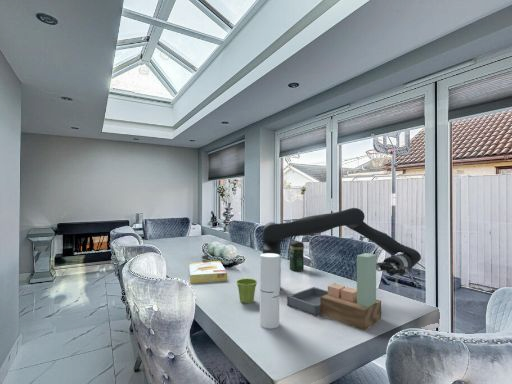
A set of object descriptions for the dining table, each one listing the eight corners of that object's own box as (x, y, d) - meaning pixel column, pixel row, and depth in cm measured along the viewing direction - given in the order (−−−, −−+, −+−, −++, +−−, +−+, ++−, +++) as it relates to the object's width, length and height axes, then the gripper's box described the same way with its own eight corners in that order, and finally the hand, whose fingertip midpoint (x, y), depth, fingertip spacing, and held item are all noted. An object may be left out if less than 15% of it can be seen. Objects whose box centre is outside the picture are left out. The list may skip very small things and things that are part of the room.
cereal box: (220, 260, 182) (227, 271, 155) (220, 268, 182) (227, 281, 155) (188, 262, 176) (190, 274, 149) (188, 271, 176) (190, 284, 149)
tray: (316, 316, 109) (316, 306, 109) (287, 305, 120) (287, 296, 120) (342, 304, 122) (342, 295, 122) (313, 295, 133) (313, 286, 133)
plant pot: (241, 306, 118) (241, 285, 119) (232, 299, 127) (233, 280, 127) (260, 302, 123) (261, 283, 123) (251, 296, 131) (251, 277, 131)
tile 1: (338, 298, 110) (338, 289, 110) (327, 294, 113) (327, 286, 113) (345, 295, 113) (345, 286, 113) (334, 292, 117) (334, 283, 117)
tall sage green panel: (367, 307, 100) (367, 257, 101) (356, 304, 103) (356, 255, 103) (376, 302, 105) (376, 254, 105) (365, 299, 108) (365, 253, 108)
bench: (364, 331, 97) (364, 310, 97) (320, 314, 110) (320, 296, 111) (381, 319, 107) (381, 300, 107) (339, 305, 120) (339, 289, 120)
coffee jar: (305, 271, 177) (305, 241, 177) (294, 272, 174) (294, 242, 175) (298, 267, 186) (299, 239, 186) (287, 268, 184) (288, 239, 184)
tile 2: (353, 302, 105) (353, 292, 105) (341, 298, 109) (341, 289, 109) (359, 299, 109) (359, 290, 109) (347, 295, 112) (347, 287, 112)
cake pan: (202, 268, 182) (202, 261, 182) (199, 260, 206) (199, 254, 206) (239, 266, 189) (239, 259, 189) (231, 258, 213) (231, 252, 213)
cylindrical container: (258, 320, 105) (259, 253, 106) (277, 319, 106) (278, 253, 106) (260, 328, 98) (261, 257, 99) (280, 328, 99) (281, 257, 99)
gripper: (379, 253, 128) (362, 258, 117) (413, 258, 118) (398, 264, 107) (379, 270, 128) (362, 276, 117) (413, 276, 118) (398, 284, 107)
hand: (379, 271), depth 112 cm, fingers open, 8 cm apart
